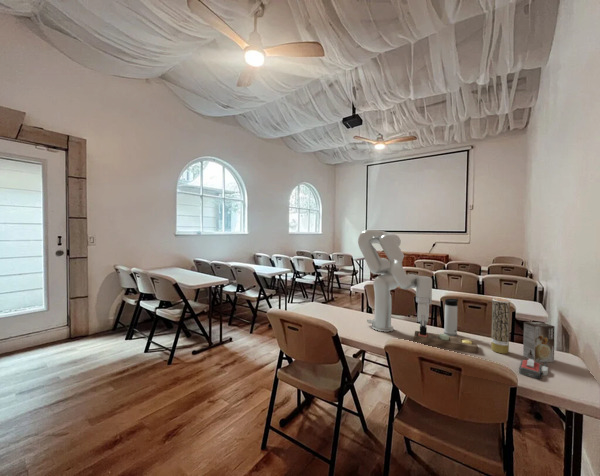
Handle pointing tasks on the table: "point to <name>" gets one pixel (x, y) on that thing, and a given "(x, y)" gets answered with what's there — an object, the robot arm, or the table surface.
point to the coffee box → (538, 341)
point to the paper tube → (500, 325)
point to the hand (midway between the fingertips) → (423, 334)
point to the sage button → (444, 337)
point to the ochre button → (466, 341)
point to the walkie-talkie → (533, 369)
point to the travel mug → (450, 317)
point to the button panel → (447, 342)
